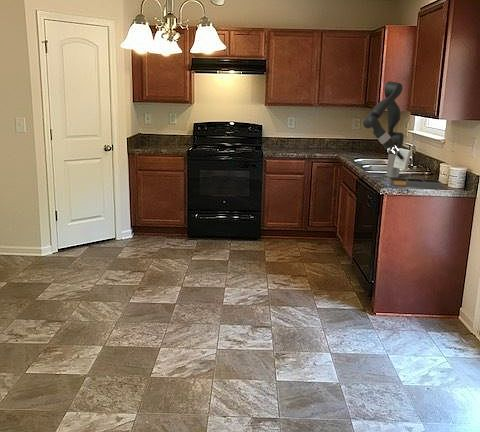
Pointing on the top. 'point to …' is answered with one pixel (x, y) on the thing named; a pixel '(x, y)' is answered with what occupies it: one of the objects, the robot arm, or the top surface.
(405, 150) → the small box
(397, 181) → the rack
